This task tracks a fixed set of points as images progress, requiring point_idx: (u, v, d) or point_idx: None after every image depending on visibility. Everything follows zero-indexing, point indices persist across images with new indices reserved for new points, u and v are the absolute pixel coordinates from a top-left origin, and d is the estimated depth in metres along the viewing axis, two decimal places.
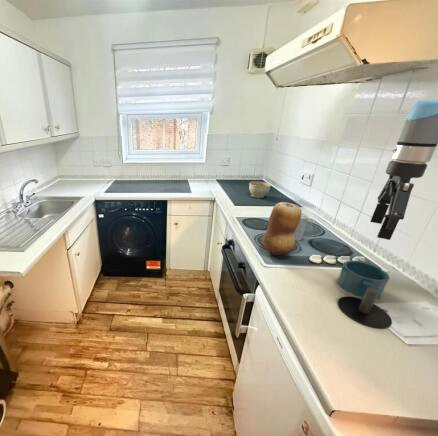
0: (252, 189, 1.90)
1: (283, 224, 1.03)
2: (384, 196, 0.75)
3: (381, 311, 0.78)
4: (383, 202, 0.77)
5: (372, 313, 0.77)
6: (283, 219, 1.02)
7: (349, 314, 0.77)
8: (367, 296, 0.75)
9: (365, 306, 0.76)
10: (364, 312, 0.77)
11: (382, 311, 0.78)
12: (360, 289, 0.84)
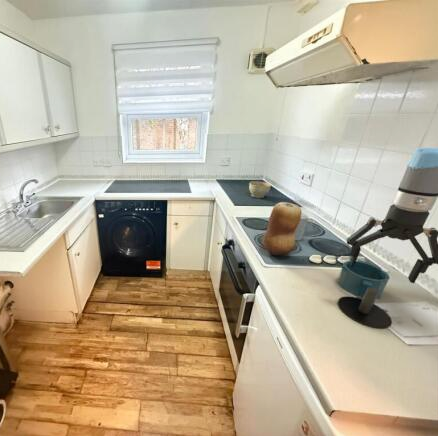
0: (252, 189, 1.90)
1: (283, 224, 1.03)
2: None
3: (381, 311, 0.78)
4: None
5: (372, 313, 0.77)
6: (283, 219, 1.02)
7: (349, 314, 0.77)
8: (367, 296, 0.75)
9: (365, 306, 0.76)
10: (364, 312, 0.77)
11: (382, 311, 0.78)
12: (360, 289, 0.84)
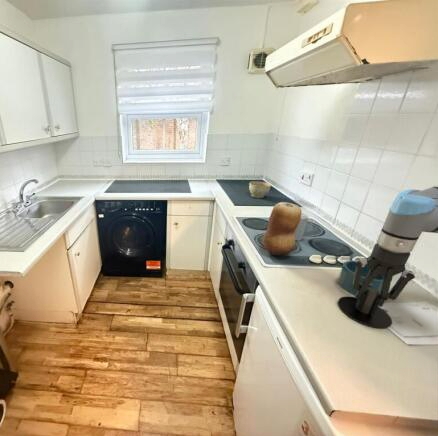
0: (252, 189, 1.90)
1: (283, 224, 1.03)
2: None
3: (381, 311, 0.78)
4: None
5: None
6: (283, 219, 1.02)
7: (349, 314, 0.77)
8: (367, 296, 0.75)
9: (365, 306, 0.76)
10: (364, 312, 0.77)
11: (382, 311, 0.78)
12: None
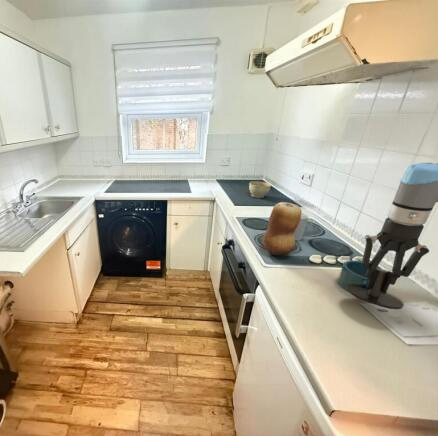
0: (252, 189, 1.90)
1: (283, 224, 1.03)
2: (380, 260, 0.71)
3: (390, 296, 0.75)
4: None
5: (382, 297, 0.74)
6: (283, 219, 1.02)
7: (360, 296, 0.73)
8: (376, 277, 0.74)
9: (375, 289, 0.74)
10: (374, 295, 0.74)
11: (391, 296, 0.75)
12: None
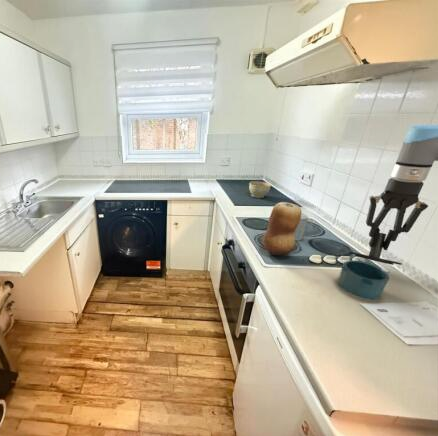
0: (252, 189, 1.90)
1: (283, 224, 1.03)
2: (383, 218, 0.77)
3: None
4: None
5: None
6: (283, 219, 1.02)
7: (363, 254, 0.80)
8: None
9: (376, 249, 0.81)
10: (375, 256, 0.81)
11: None
12: (360, 289, 0.84)
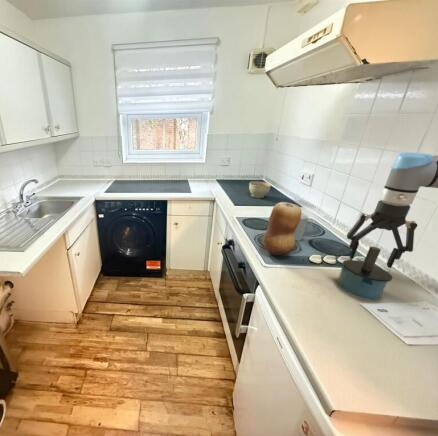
0: (252, 189, 1.90)
1: (283, 224, 1.03)
2: (365, 234, 0.83)
3: (382, 270, 0.85)
4: None
5: (374, 271, 0.84)
6: (283, 219, 1.02)
7: (354, 271, 0.84)
8: (370, 254, 0.83)
9: (368, 264, 0.83)
10: (367, 270, 0.84)
11: (383, 270, 0.85)
12: (360, 289, 0.84)
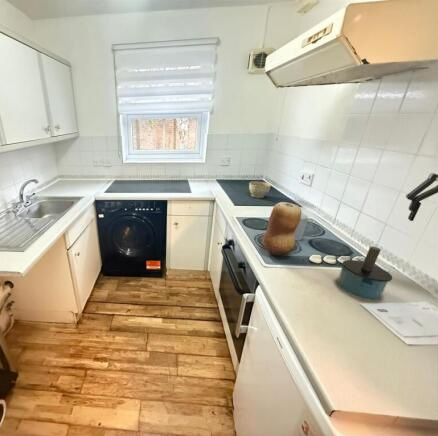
0: (252, 189, 1.90)
1: (283, 224, 1.03)
2: None
3: (382, 270, 0.85)
4: None
5: (374, 271, 0.84)
6: (283, 219, 1.02)
7: (354, 271, 0.84)
8: (370, 254, 0.83)
9: (368, 264, 0.83)
10: (367, 270, 0.84)
11: (383, 270, 0.85)
12: (360, 289, 0.84)
